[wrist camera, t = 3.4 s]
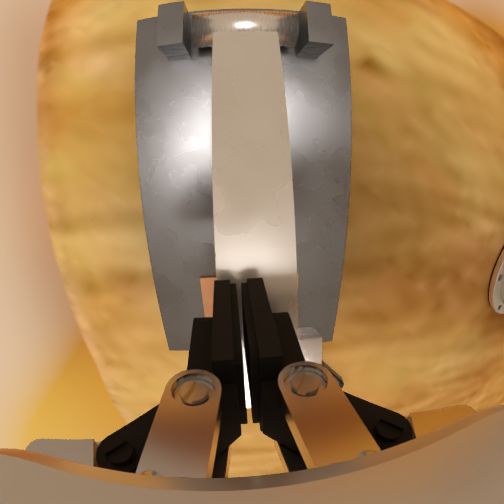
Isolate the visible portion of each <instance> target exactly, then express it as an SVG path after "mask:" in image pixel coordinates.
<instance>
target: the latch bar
mask: <svg viewBox="0 0 504 504" xmlns="http://www.w3.org/2000/svg"><path fill="white" fill-rule="evenodd" d="M191 35H192V43H193V47H194V48H202V47H212V184H213V216H214V241H215V262H216V280H230V284H231V283H236V287H237V299H238V310H239V320H240V331H241V341H242V351H243V363H244V379H245V394H246V408H251V402H250V394H249V385H248V377H247V368H246V359H245V349H244V334H243V314H242V294H241V283H247V278H263V281H264V285H265V289H266V292H267V296H268V300H269V304H270V308H271V311H272V313H279V312H288V313H289V315H290V318H291V321H292V324H293V327H294V329H295V332H296V335H297V338H298V341H299V344H300V347H301V350H302V353H303V356H304V358H305V361H309V362H315V363H318V364H321V365H322V337H321V336H320V335H319V333H318V332H317V331H316V330H315V329H314V328H313V327H304V328H298V295H297V259H296V234H295V214H294V196H293V180H292V166H291V152H290V140H289V128H288V117H287V107H286V97H285V87H284V78H283V69H282V61H281V53H280V46H288V47H295V46H296V44H297V41H298V35H299V20H298V15H297V13H292V12H277V11H218V12H204V13H193V14H192V18H191Z"/></svg>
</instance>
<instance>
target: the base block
mask: <svg viewBox="0 0 504 504" xmlns="http://www.w3.org/2000/svg"><path fill="white" fill-rule="evenodd" d="M218 11H277V12H292V13H297V15H298V20H299V35H298V41H297V44H296V46H295V47H288V46H280V53H281V61H282V69H283V78H284V87H285V97H286V107H287V117H288V128H289V140H290V152H291V166H292V180H293V196H294V214H295V234H296V259H297V295H298V328H304V327H313V328H314V329H315V330H316V331H317V332H318V333H319V335H320V336H321V337H322V342H327V341H332V338H333V332H334V326H335V320H336V314H337V308H338V301H339V294H340V287H341V279H342V271H343V263H344V254H345V244H346V234H347V222H348V209H349V194H350V174H351V81H350V62H349V48H348V36H347V26H346V18H343V17H337V16H332V15H331V6H330V4H326V3H319V2H312V1H305V3H304V5H303V6H302V8H301V10H300V11H290V10H275V9H220V10H205V11H194V12H188V11H187V8H186V5H185V3H184V1H182V2H174V3H168V4H162V5H159V6H158V17H153V18H147V19H142V20H138V21H137V34H136V55H135V115H136V138H137V153H138V166H139V178H140V188H141V197H142V206H143V214H144V221H145V229H146V236H147V242H148V249H149V255H150V261H151V266H152V272H153V277H154V283H155V288H156V293H157V298H158V303H159V307H160V312H161V317H162V321H163V325H164V330H165V334H166V338H167V342H168V346H169V350H190V341H191V333H192V326H193V319H194V318H201V317H213V295H214V280H216V262H215V241H214V216H213V184H212V47H202V48H194V47H193V43H192V35H191V18H192V14H193V13H204V12H218Z"/></svg>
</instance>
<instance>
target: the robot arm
mask: <svg viewBox="0 0 504 504" xmlns="http://www.w3.org/2000/svg"><path fill="white" fill-rule="evenodd" d="M241 294H242V314H243V334H244V349H245V359H246V368H247V377H248V385H249V394H250V402H251V411H252V419H253V423H260V430H261V431H263V434H265V435H267V436H268V437H270V438H272V439H273V440H274V444H275V447H276V450H277V453H278V455H279V458H280V460H281V463H282V466H283V468H284V471H285V473H280V474H272V475H263V476H251V477H236V478H228V471H229V464H230V456H231V444H232V443H233V442H234V441H235V440H236V439H237V438H239V437H240V436H241V424H247V409H246V394H245V379H244V363H243V351H242V341H241V331H240V320H239V310H238V299H237V287H236V283H231V284H230V280H214V295H213V317H201V318H194V319H193V326H192V333H191V341H190V350H189V358H188V367H187V370H186V371H182V372H180V373H178V374H176V375H174V376H173V377H172V378H171V379H170V380H169V382H168V383H167V385H166V387H165V390H164V393H163V395H162V398H161V401H160V404H159V405H157V406H156V407H154V408H153V409H151V410H149V411H148V412H146V413H145V414H143V415H142V416H140V417H139V418H137V419H135V420H134V421H132V422H131V423H129V424H127V425H126V426H124V427H123V428H121V429H119V430H118V431H116V432H114V433H113V434H111V435H109V436H108V437H106V438H105V439H104V440H103V441H101V442H95V441H94V439H84V440H62V439H61V440H60V439H37V440H34V441H33V442H31V443H30V444H29V445H28V446H27V447H26V450H20V449H4V448H2V449H0V504H504V405H500V406H495V407H491V408H487V409H484V410H481V411H479V412H476V411H475V410H474V409H473V408H472V407H470V406H467V405H456V406H452V407H446V408H441V409H435V410H429V411H422V412H415V413H410V414H409V416H408V417H404V416H402V415H400V414H399V413H396V412H394V411H391V410H388V409H386V408H383V407H380V406H378V405H375V404H373V403H370V402H368V401H365V400H363V399H360V398H358V397H355V396H353V395H351V394H348V393H346V392H344V391H343V390H342V389H341V387H340V386H339V384H338V383H337V381H336V380H335V378H334V376H333V375H332V373H331V372H330V371H329V370H328V369H327V368H326V367H324V366H322V365H321V364H318V363H315V362H309V361H305V358H304V356H303V353H302V350H301V347H300V344H299V341H298V338H297V335H296V332H295V329H294V327H293V324H292V321H291V318H290V315H289V313H288V312H279V313H272V311H271V308H270V304H269V300H268V296H267V292H266V289H265V285H264V281H263V278H247V283H241ZM489 302H490V305H491V307H492V309H493V310H494V311H496V312H497V313H499V314H504V249H503V251H502V253H501V255H500V257H499V259H498V261H497V264H496V266H495V269H494V272H493V275H492V279H491V283H490V289H489Z"/></svg>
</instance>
